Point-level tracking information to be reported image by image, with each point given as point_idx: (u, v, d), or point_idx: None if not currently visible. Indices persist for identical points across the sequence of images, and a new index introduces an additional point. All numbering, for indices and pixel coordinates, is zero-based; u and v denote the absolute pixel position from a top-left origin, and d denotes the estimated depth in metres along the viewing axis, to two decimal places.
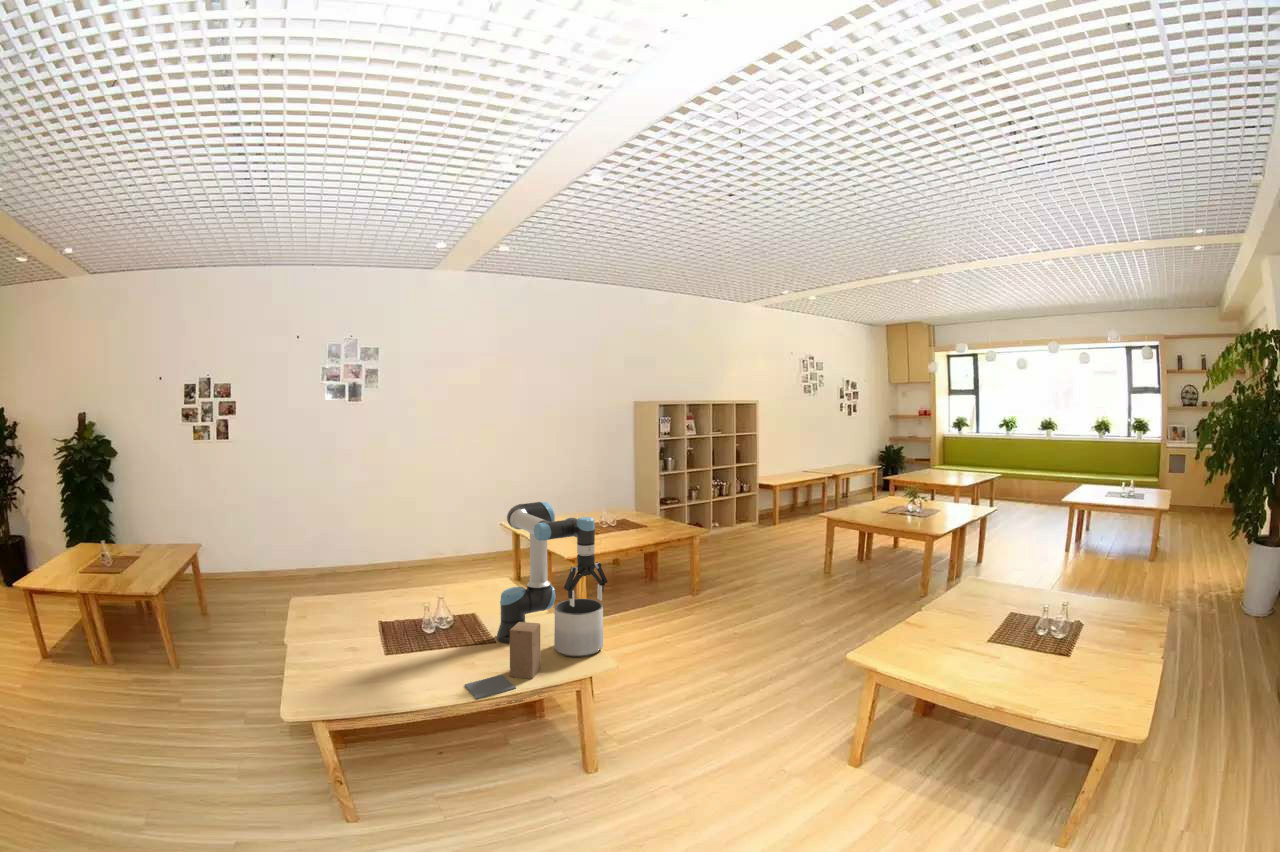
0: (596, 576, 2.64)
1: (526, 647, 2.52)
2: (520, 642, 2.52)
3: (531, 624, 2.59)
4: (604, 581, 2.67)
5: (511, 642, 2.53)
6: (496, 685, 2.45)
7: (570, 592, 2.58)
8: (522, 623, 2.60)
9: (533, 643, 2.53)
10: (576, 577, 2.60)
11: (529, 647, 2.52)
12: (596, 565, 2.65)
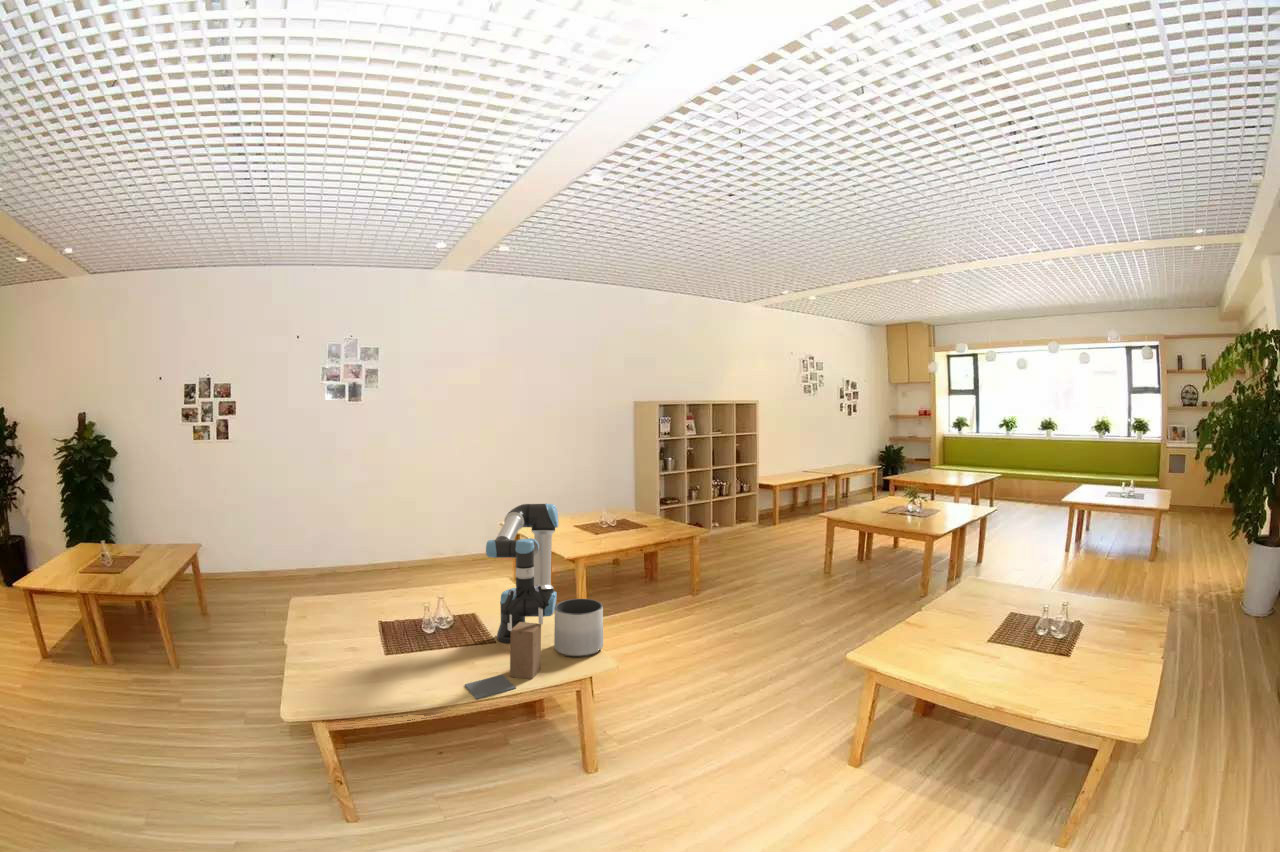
0: (536, 599, 2.58)
1: (526, 647, 2.52)
2: (521, 642, 2.52)
3: (532, 625, 2.59)
4: (545, 604, 2.61)
5: (512, 642, 2.53)
6: (496, 685, 2.45)
7: (507, 616, 2.51)
8: (523, 623, 2.60)
9: (534, 644, 2.53)
10: (514, 601, 2.54)
11: (530, 647, 2.52)
12: (536, 588, 2.59)
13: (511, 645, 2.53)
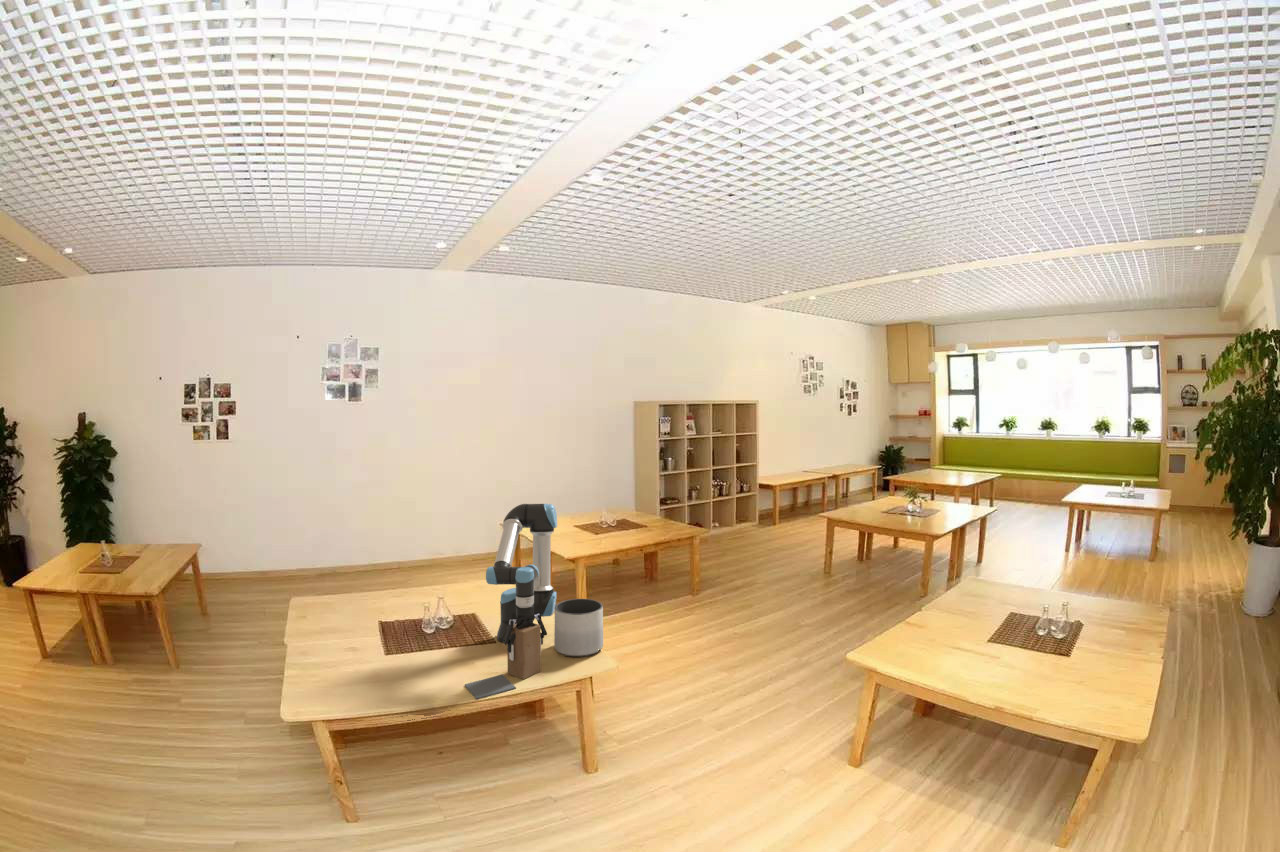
0: None
1: (519, 646, 2.52)
2: (514, 641, 2.54)
3: None
4: (543, 633, 2.61)
5: None
6: (496, 685, 2.45)
7: (509, 646, 2.53)
8: None
9: (526, 644, 2.52)
10: None
11: (521, 647, 2.52)
12: (536, 616, 2.59)
13: None
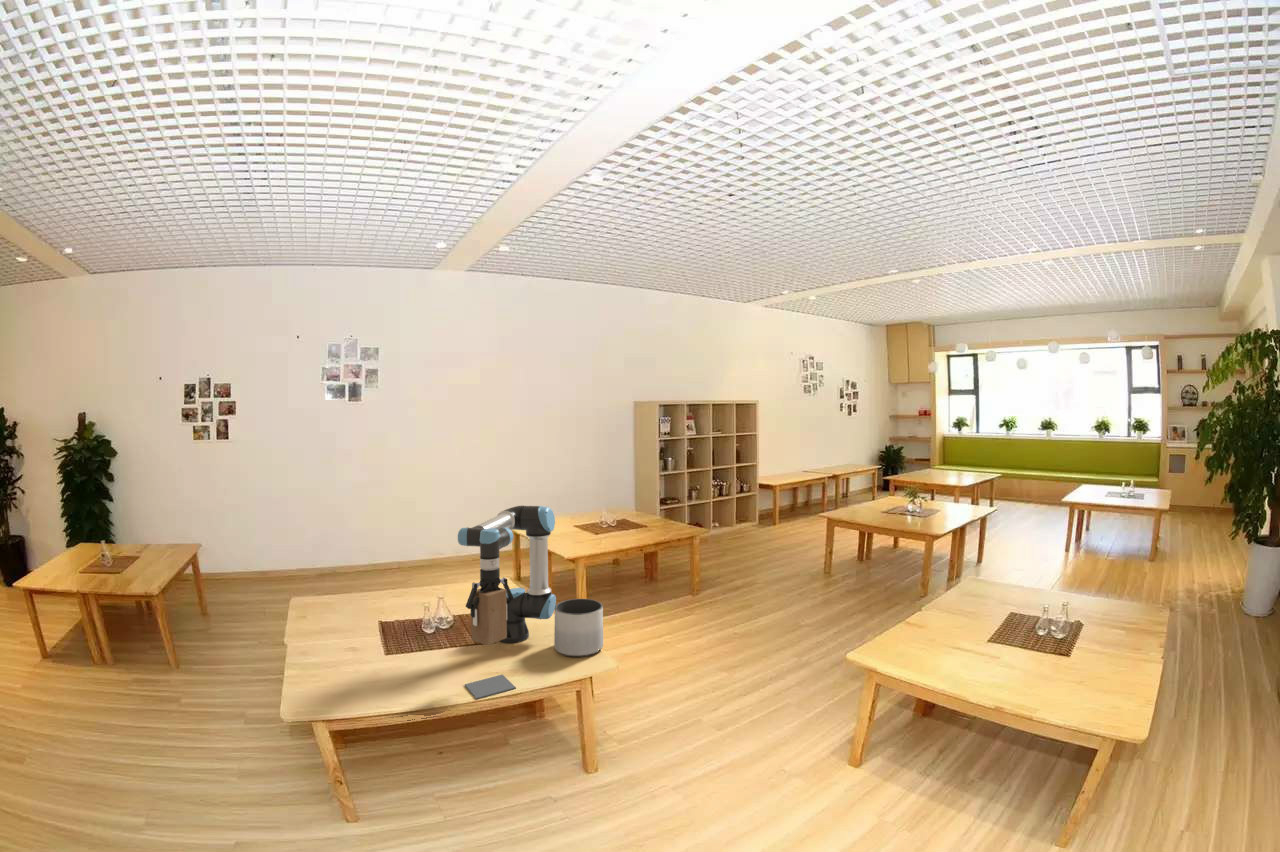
0: None
1: (483, 611, 2.39)
2: (478, 605, 2.40)
3: None
4: (510, 598, 2.48)
5: None
6: (496, 685, 2.45)
7: (472, 610, 2.39)
8: None
9: (490, 608, 2.39)
10: None
11: (485, 612, 2.38)
12: (502, 580, 2.46)
13: None
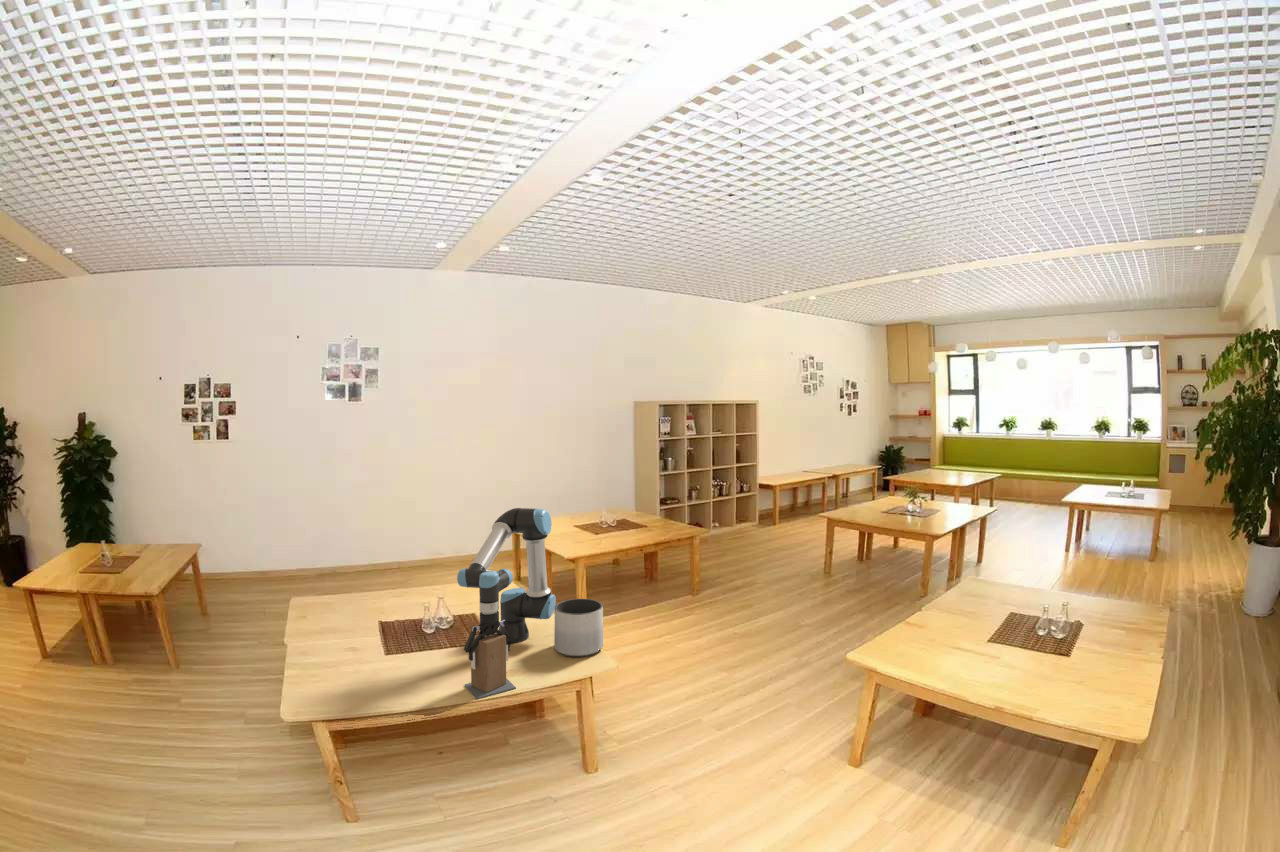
0: None
1: (482, 658, 2.40)
2: (478, 652, 2.41)
3: (495, 635, 2.45)
4: (511, 639, 2.49)
5: None
6: None
7: (470, 654, 2.39)
8: None
9: (489, 655, 2.39)
10: (478, 637, 2.42)
11: (485, 659, 2.39)
12: (501, 623, 2.47)
13: None
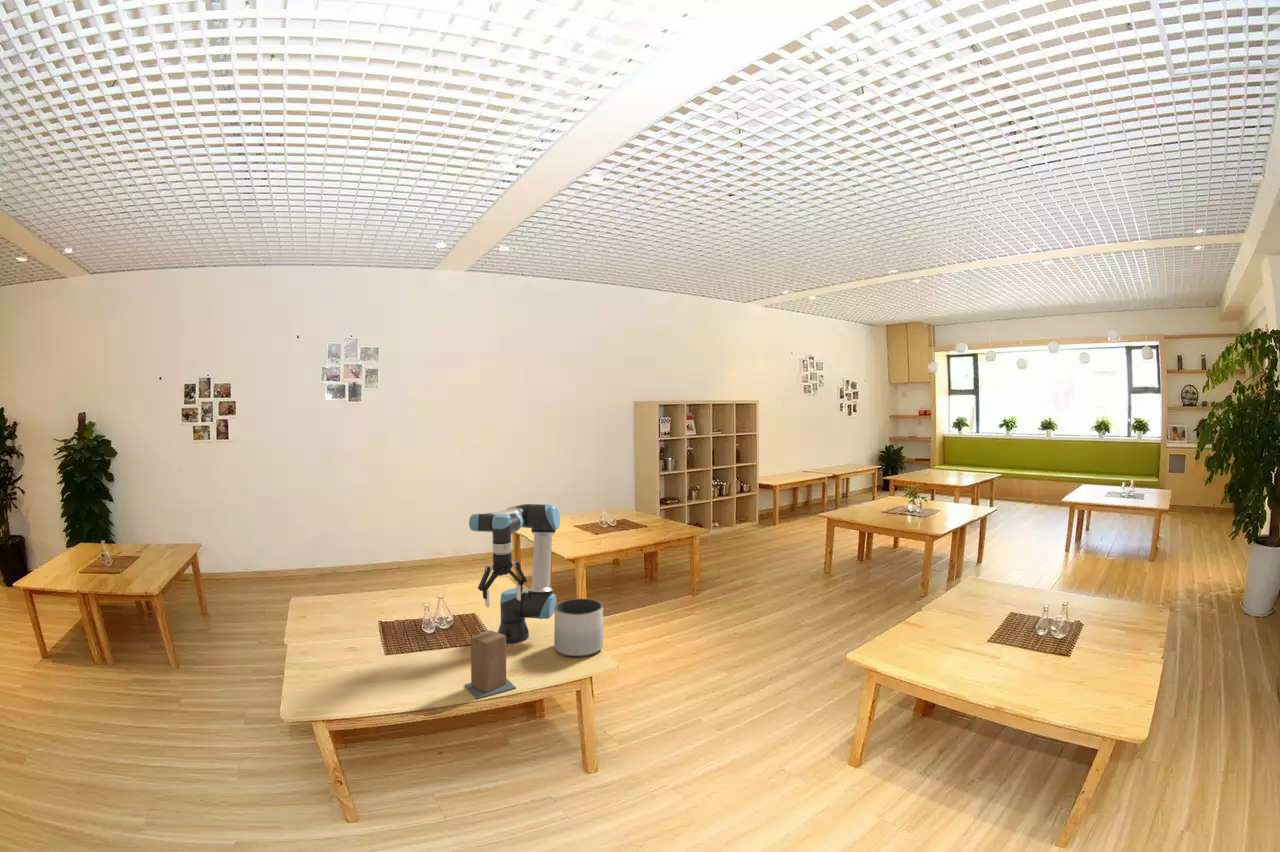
0: (514, 575, 2.54)
1: (482, 658, 2.40)
2: (478, 652, 2.41)
3: (495, 635, 2.45)
4: (523, 580, 2.57)
5: (471, 650, 2.43)
6: None
7: (484, 592, 2.48)
8: (490, 632, 2.48)
9: (489, 655, 2.39)
10: (491, 577, 2.50)
11: (485, 659, 2.39)
12: (514, 564, 2.54)
13: (471, 653, 2.44)
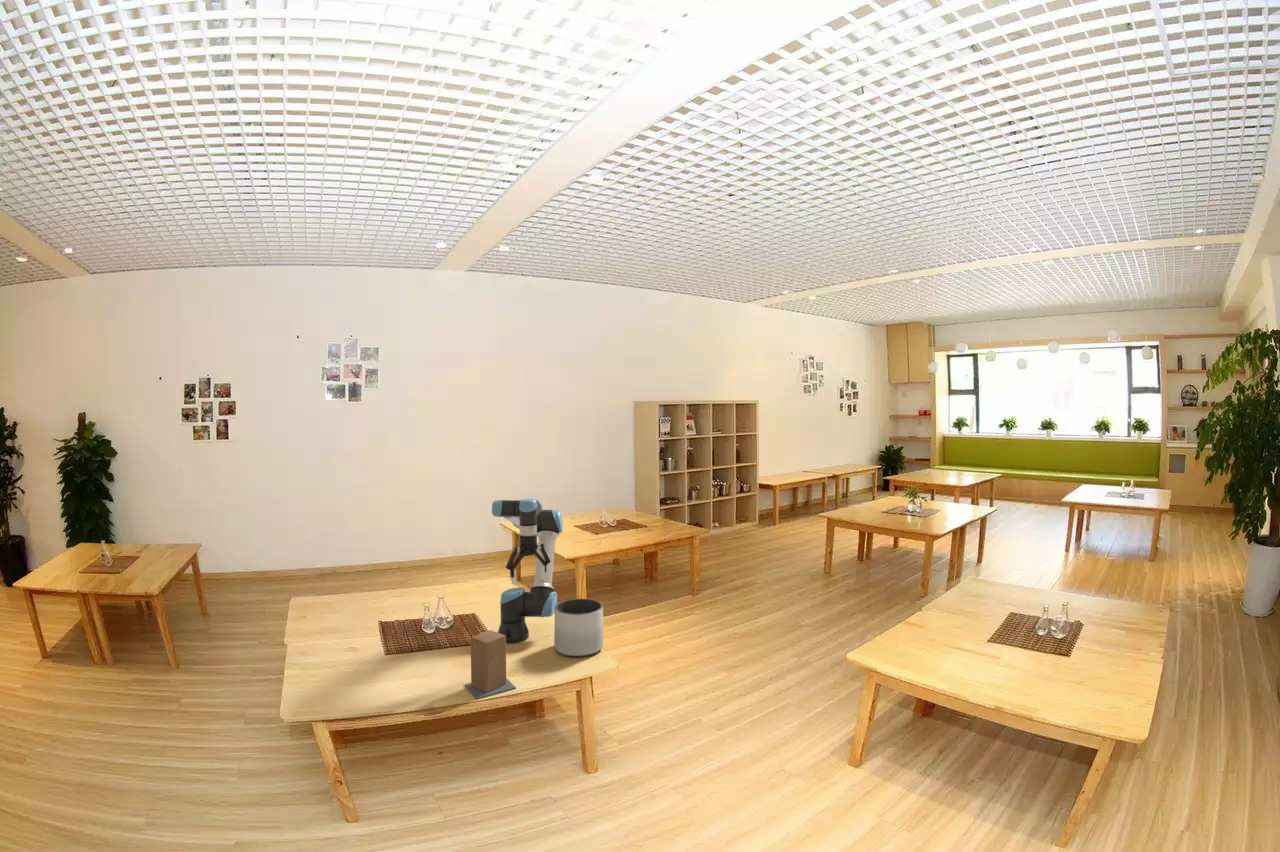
0: (538, 556, 2.72)
1: (482, 658, 2.40)
2: (478, 652, 2.41)
3: (495, 635, 2.45)
4: (547, 561, 2.75)
5: (471, 650, 2.43)
6: None
7: (512, 571, 2.65)
8: (490, 632, 2.48)
9: (489, 655, 2.39)
10: (518, 557, 2.67)
11: (485, 659, 2.39)
12: (539, 545, 2.72)
13: (471, 653, 2.44)
